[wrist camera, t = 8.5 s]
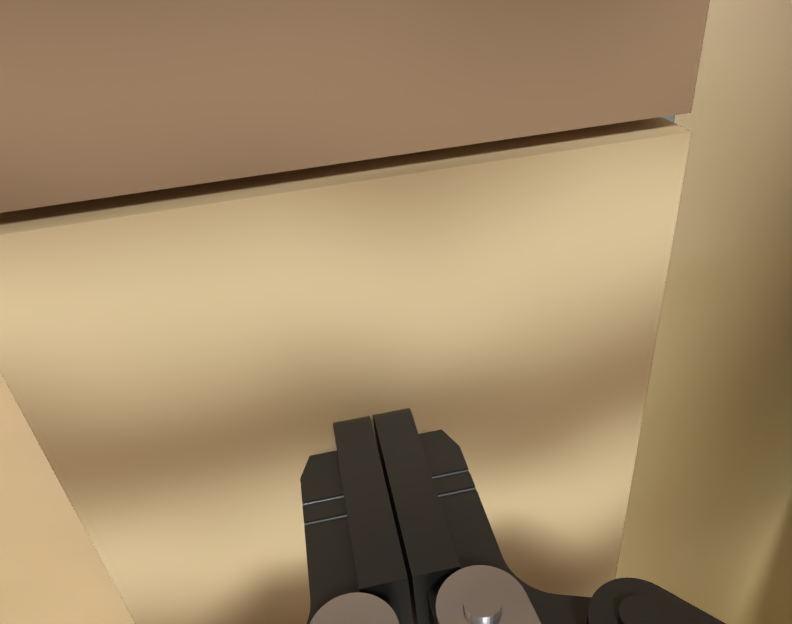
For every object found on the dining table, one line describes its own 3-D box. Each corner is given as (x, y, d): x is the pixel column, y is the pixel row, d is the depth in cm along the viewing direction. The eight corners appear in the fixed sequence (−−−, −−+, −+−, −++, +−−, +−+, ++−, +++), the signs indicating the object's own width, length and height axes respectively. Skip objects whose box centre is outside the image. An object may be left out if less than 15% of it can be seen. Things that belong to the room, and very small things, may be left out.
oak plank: (-20, 194, 11) (-68, 245, 9) (633, 101, 12) (691, 131, 11) (247, 764, 23) (246, 831, 21) (564, 686, 24) (586, 743, 23)
